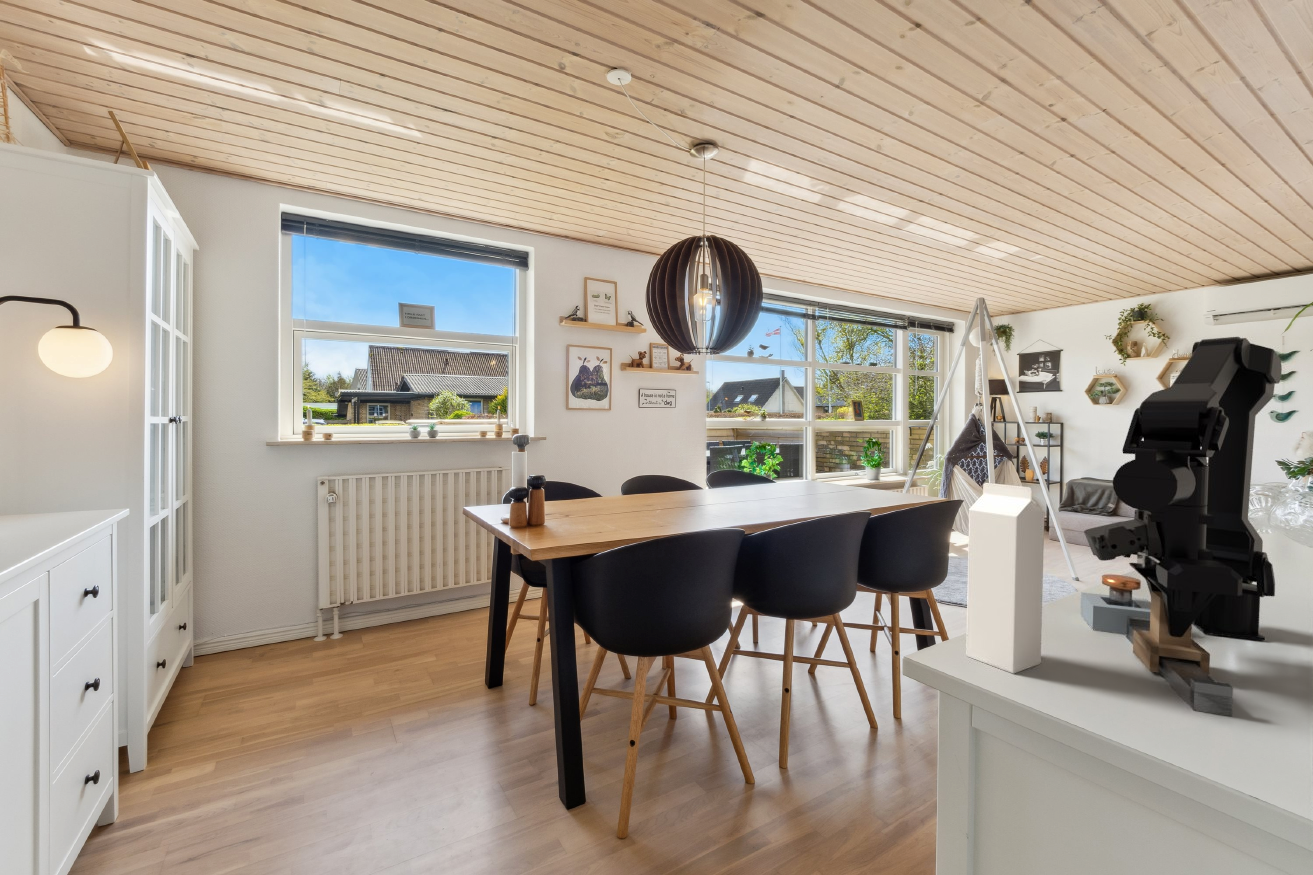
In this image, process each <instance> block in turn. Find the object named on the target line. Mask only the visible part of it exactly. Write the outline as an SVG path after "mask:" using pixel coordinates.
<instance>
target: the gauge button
mask: <svg viewBox="0 0 1313 875" xmlns="http://www.w3.org/2000/svg"><path fill="white" fill-rule="evenodd" d="M1101 584H1103V585H1104V586H1107V587H1109V590H1108V591H1109V593H1108V595H1109V605H1116V606H1125V607H1132V598H1133V591H1135V590H1140V589H1141V586H1142V582H1141V580H1140V579H1139V578H1136V577H1133V576H1127V575H1123V574H1122V575H1121V574H1112V573H1111V574H1102V575H1101Z"/></svg>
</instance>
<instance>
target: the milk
mask: <svg viewBox="0 0 1313 875" xmlns="http://www.w3.org/2000/svg"><path fill="white" fill-rule="evenodd" d="M982 487H983V488H982V495H981V496H980V497H979V498H978V499H977V500H976V501H975V502H974V503H973V504H972V505H971V506H970V507H969V508H968V543H967V544H968V547H967V549H968V550H967V557H968V558H967V588H966V590H967V599H966V601H967V602H966V640H965V641H966V642H965V643H966V646H965V647H966V648H965V651H966V652H965V656H966V657H968V658H971V659H974V660H975V661H978V662H981V663H984V664H986V665H990V666H991V667H994V668H997V669H1000V670H1003V671H1004V672H1006V673H1007V672H1008V673H1010V674H1012V675H1013V674H1016V673H1019V672H1022V671H1024V670H1027V669H1030V668H1032V667H1035V666H1038V665H1040V664H1041V663H1042V661H1041V660H1042V626H1043V625H1042V624H1043V622H1042V621H1043V589H1044V588H1043V584H1044V583H1043V581H1044V547H1045V546H1044V545H1045V542H1044V540H1045V511H1044V510H1043V509H1042V508H1041V507H1040V506H1039V505H1038V504H1037V503H1036V502H1034V500H1033V489H1032V488H1031V487H1029V486H1020V485H1012V484H1002V483H1001V484H1000V483H993V482H992V483H991V482H984V483H983V486H982ZM967 635H968V636H967Z"/></svg>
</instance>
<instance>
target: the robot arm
mask: <svg viewBox="0 0 1313 875" xmlns="http://www.w3.org/2000/svg"><path fill="white" fill-rule="evenodd" d="M1282 368H1283V366H1282V360H1281V358H1280V356H1279V355H1278V353H1277V351H1276V350H1275V349H1274V348H1270V347H1266V346H1264V345H1263V346H1262V345H1259V344H1255V343H1251V342H1250V340H1249V339H1248V338H1246V337H1240V336H1231V337H1230V336H1228V337H1219V338H1206V339H1205V338H1204V339H1201V340H1200V341H1195V342H1194V343H1193V345H1192V349H1191V356H1190V357H1189V359H1188V360H1187V362H1186V363H1185V365H1184V367H1183V368H1182V369H1181V370H1180V373H1179V374H1178V375H1177V376H1176V379H1174V381H1173V383H1172V385H1170V386H1169V387H1167V388H1164V389H1161V390H1160V389H1159V390H1157V391H1155V392H1152V393H1151V394H1150V395H1148V396H1147V397H1146V398H1144V400H1142V402H1141V403H1140V406H1139V407H1137V408H1136V409H1135V410H1134V412H1133V415H1132V418H1131V421H1130V424H1129V428H1128V431H1127V434H1126V437H1125V440H1124V444H1123V445H1122V446H1123V447H1122V454H1123V455H1124V454H1125V455H1134V459H1132V460H1129V461H1127V462H1124V464H1123V465H1120V467H1119V468H1118V469H1117V470H1116V472H1115V475H1114V476H1113V478H1112V488H1113V490H1114V493H1115V495H1116V496H1117V498H1118V499H1119V500H1120V501H1121V502H1122V503H1124V504H1125V505H1126V506H1129V507H1130V508H1132V509H1134V518H1133V519H1129V520H1124V521H1123V520H1122V521H1119V522H1112V523H1109V524H1105V525H1099V526H1096V527H1092V528H1088V529H1085V530H1084V531H1083V533H1084V535H1085V537H1086V541H1087V543H1088V545H1089V548H1090V550H1091V552H1092V555H1093V556H1095V557H1097V559H1098V560H1099V561H1103V562H1104V561H1112V560H1115V559H1116V558H1117V557H1118V558H1119V557H1123V558H1128V559H1129V558H1131V556H1132V555H1135V556H1136V562H1129V563H1128V565H1129V566H1130V567H1131V568H1132V569H1134V570H1135V571H1136V572H1137V573H1138V574H1139V575H1140V576H1142V578H1144V580H1145V581H1146V585H1147V588H1148V592H1149V595H1150V596H1151V591H1157V592H1162V595H1163V601H1164V607H1165V614H1166V620H1167V626H1168V631H1169V634H1170V635H1171V636H1173V637H1182V636H1183V635H1184V634H1185V632H1186V631H1187V630H1188V628H1189V627H1190V626H1191V624H1192V626H1194V627H1195V628H1196V629H1198V630H1199V631H1201V632H1202V633H1204V634H1206V635H1214V636H1223V637H1232V638H1233V637H1234V638H1238V639H1246V640H1247V639H1249V640H1256V641H1257V640H1258V641H1266V636H1265V635H1263V634H1261V633H1260V632H1259V631H1260V628H1259V627H1260V611H1261V610H1260V608H1261V607H1260V606H1261V604H1260V603H1261V598H1264V597H1275V595H1276V580H1275V573H1274V568H1273V563H1271V562H1270V561H1269V557H1268V554H1267V552H1266V551H1263V543H1264V542H1263V539H1262V536H1260V534H1259V533H1258V531H1257V530H1256V528H1255V527H1254V526H1253V524H1252V523H1251V522H1250V520H1249V507H1250V506H1249V505H1250V495H1251V494H1250V492H1251V484H1252V482H1251V480H1252V466H1253V456H1254V455H1253V454H1254V440H1255V428H1256V416H1257V415H1258V414H1259V413H1260V412H1261V411H1262V409H1264V407H1265V406H1267V404H1268V403H1269V402H1270V401H1271V400H1272V399H1273V397H1274V394H1275V384H1280V382H1281V379H1282ZM1207 458H1208V459H1207ZM1254 583H1256V584H1254Z"/></svg>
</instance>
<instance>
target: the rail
mask: <svg viewBox="0 0 1313 875" xmlns="http://www.w3.org/2000/svg"><path fill="white" fill-rule="evenodd" d="M1134 629H1135V630H1144V631H1150V619H1149V618H1141V617H1132V616H1127V632H1126V634H1125V636H1126V639H1127V640H1128V641H1129V642H1130V643H1131V644H1132V645H1133V636H1134ZM1157 673H1159V674H1160V676H1162V678H1163V679H1164V680H1165V681H1166V682H1167V683H1168V684H1169V685H1170V686H1171V688H1173V689H1174V690H1175V692H1177V694H1178V695H1179V696H1180V697H1181V698H1182V699H1183V701H1184V702H1186V703H1187V705H1188V706H1189V707H1190V708H1191V709H1192V710H1193V711H1196V712H1203V713H1207V714H1213V715H1214V714H1215V715H1221V716H1225V717H1233V695H1234V694H1233V692H1234V691H1233V690H1234V687H1233V686H1232V685H1231V684H1229V683H1227V682H1220V681H1215V679H1214V678H1212V677H1211V676H1210V674H1209V675H1207V674H1206V673H1205V672H1204V671H1203V670H1202V669H1201V668H1200V667H1199V666H1198V665H1196V664H1195V663H1194V662H1193V661H1192V660H1187V659H1180V658H1172V657H1165V656H1159V663H1158V672H1157Z"/></svg>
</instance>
